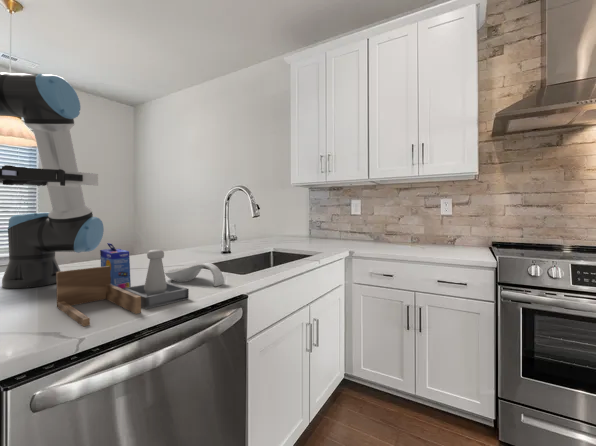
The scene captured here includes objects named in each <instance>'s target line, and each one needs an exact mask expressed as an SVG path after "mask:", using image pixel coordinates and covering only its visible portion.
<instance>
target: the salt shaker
mask: <svg viewBox="0 0 596 446" xmlns="http://www.w3.org/2000/svg"><path fill="white" fill-rule="evenodd" d="M146 257H147V259H149V263H148V266H147V267H148V268H147V272H146V277H145V282H144V285H145V286H144V290H145V292H146V294H147V296H151V295H156V294H161V293H165V291H166V289H167V285H166V282H167V280H166V274H165V269H164V263H163V259H164V257H165V252H164V251H163V250H162V249H150V250H148V251H147V252H146Z"/></svg>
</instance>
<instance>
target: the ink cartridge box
mask: <svg viewBox="0 0 596 446" xmlns="http://www.w3.org/2000/svg"><path fill="white" fill-rule="evenodd" d="M107 246H108V247H109V248H105V249H100V250H99V254H100V267H103V266H110V283H111V284H112V285H114V286H117V287H119V288H121V289H122V288H127V287H132V286H131V285H132V284H131V281H132V280H131V261H130V260H131V259H130V257H131V256H130V251H128V250H124V249H121V248H116V247H115V246H114V245H113V243H109V242H108V243H107Z"/></svg>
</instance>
